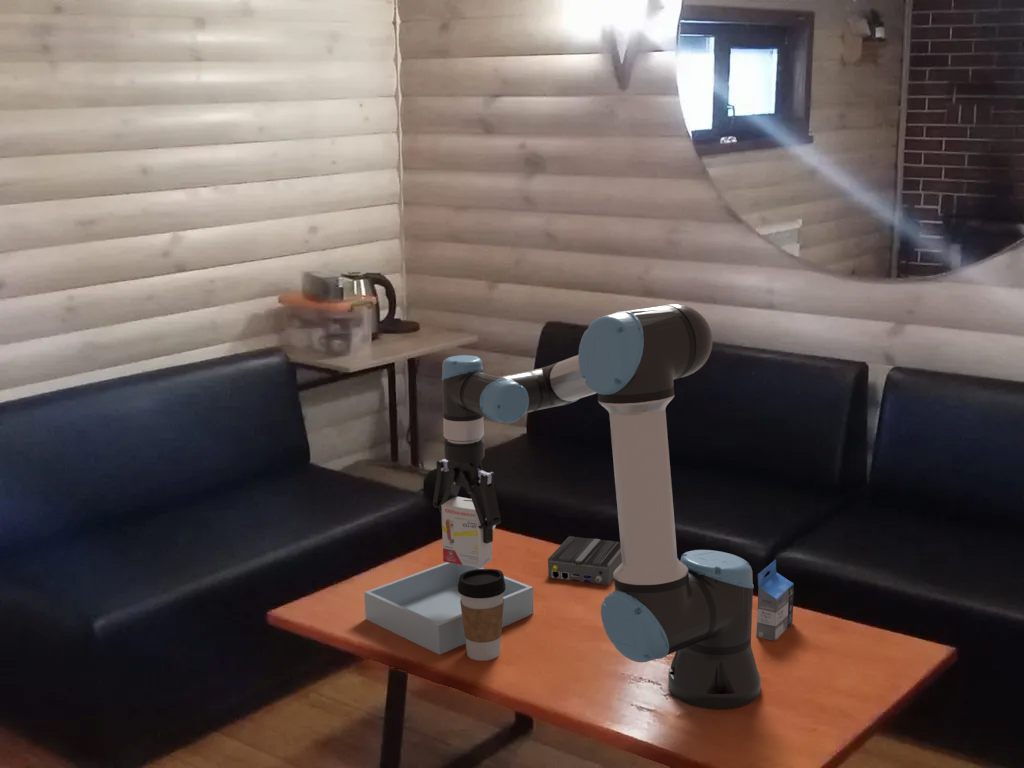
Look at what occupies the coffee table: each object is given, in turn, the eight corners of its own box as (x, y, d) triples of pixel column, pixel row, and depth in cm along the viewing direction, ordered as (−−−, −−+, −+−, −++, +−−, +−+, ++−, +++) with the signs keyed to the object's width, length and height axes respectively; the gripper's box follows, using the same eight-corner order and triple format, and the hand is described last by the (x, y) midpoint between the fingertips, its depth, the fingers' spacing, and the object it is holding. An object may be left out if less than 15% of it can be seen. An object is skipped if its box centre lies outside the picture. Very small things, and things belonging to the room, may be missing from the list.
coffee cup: (501, 666, 207) (499, 585, 203) (454, 662, 208) (451, 582, 205) (511, 644, 215) (509, 567, 211) (466, 641, 216) (463, 564, 213)
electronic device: (546, 582, 243) (546, 559, 242) (569, 556, 257) (569, 534, 256) (607, 590, 239) (607, 566, 238) (628, 563, 252) (628, 540, 251)
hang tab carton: (775, 643, 213) (777, 579, 211) (755, 638, 215) (757, 574, 213) (793, 625, 221) (795, 562, 218) (773, 620, 223) (775, 558, 220)
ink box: (441, 562, 228) (439, 503, 225) (454, 553, 232) (452, 495, 229) (481, 569, 224) (479, 509, 221) (493, 560, 228) (492, 501, 226)
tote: (533, 614, 227) (533, 587, 226) (439, 655, 211) (438, 625, 210) (458, 583, 242) (457, 558, 241) (365, 619, 227) (364, 592, 225)
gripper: (519, 445, 217) (521, 560, 222) (440, 423, 233) (444, 531, 238) (489, 454, 212) (492, 571, 217) (411, 431, 228) (415, 541, 233)
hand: (467, 550), depth 228 cm, fingers closed on ink box, 9 cm apart
